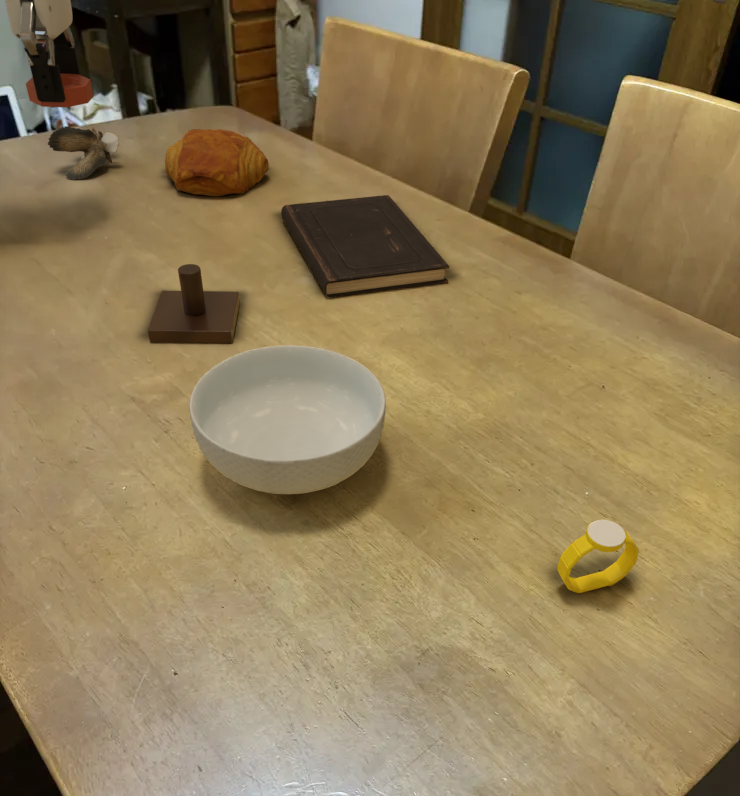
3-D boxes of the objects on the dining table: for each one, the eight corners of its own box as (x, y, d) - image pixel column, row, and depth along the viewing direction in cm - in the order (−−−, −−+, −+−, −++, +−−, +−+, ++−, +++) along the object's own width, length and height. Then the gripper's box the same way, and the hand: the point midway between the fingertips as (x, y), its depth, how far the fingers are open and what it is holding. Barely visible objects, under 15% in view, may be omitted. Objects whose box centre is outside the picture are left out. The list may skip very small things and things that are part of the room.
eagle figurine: (84, 147, 122) (40, 153, 115) (99, 111, 117) (54, 114, 111) (116, 182, 122) (74, 190, 115) (132, 148, 118) (89, 153, 111)
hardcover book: (387, 210, 110) (388, 194, 109) (447, 282, 95) (449, 265, 93) (281, 221, 106) (280, 205, 105) (325, 298, 91) (324, 281, 89)
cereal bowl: (319, 552, 61) (318, 487, 56) (159, 480, 66) (145, 416, 61) (414, 438, 72) (420, 376, 67) (270, 385, 77) (265, 324, 72)
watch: (615, 564, 61) (635, 512, 56) (632, 590, 59) (654, 538, 55) (547, 578, 59) (562, 525, 55) (562, 605, 57) (580, 552, 53)
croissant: (189, 174, 124) (176, 121, 119) (279, 170, 120) (269, 116, 115) (153, 205, 113) (137, 149, 108) (250, 202, 110) (238, 144, 105)
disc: (24, 106, 92) (20, 88, 91) (41, 89, 98) (37, 72, 96) (84, 108, 93) (80, 90, 92) (97, 91, 98) (94, 74, 97)
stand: (149, 342, 82) (139, 288, 78) (163, 301, 89) (154, 249, 85) (232, 343, 83) (226, 289, 78) (240, 302, 89) (235, 250, 85)
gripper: (12, -95, 89) (49, 72, 101) (-41, -77, 76) (8, 112, 88) (77, -92, 89) (106, 74, 101) (35, -73, 77) (74, 114, 89)
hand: (60, 90), depth 95 cm, fingers closed on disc, 7 cm apart
